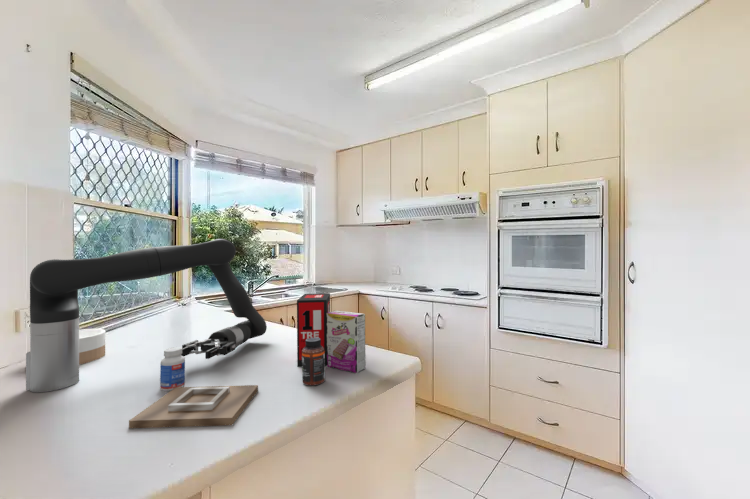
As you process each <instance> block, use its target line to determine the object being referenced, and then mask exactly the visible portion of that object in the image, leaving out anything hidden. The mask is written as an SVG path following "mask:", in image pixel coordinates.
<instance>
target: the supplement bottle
mask: <svg viewBox="0 0 750 499" xmlns="http://www.w3.org/2000/svg"><path fill="white" fill-rule="evenodd" d="M305 342H306V343H305V345H306V346H305V347H304V348H303V350H302V367H301V375H302V377H301V378H302V380H301V381H302V384H304V385H306V386H318V385H321V384H323V383H324V382H325V380H326V369H325V368H326V366H325V351H324V347H323V346H321V339H320V338H308V339H306V341H305Z"/></svg>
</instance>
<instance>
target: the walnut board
mask: <svg viewBox="0 0 750 499" xmlns="http://www.w3.org/2000/svg"><path fill="white" fill-rule="evenodd" d="M258 392H259V385H258V384H257V385H256V384H254V385H253V384H252V385H251V384H250V385H248V384H247V385H214V386H213V385H212V386H211V385H210V386H183V387H175V388H174V389H173V390H171V391H167V393H166V394H164V395H163V396H162V397H160V398H158V399H157V400H156V401H154V402H153V403H152V404H150V405H149V406H148V407H146V408H145V409H143V410H142V411H140V412H139V413H138V414H136V415H135V416H134V417H132V418H131V419H129V420H128V429H153V428H154V429H155V428H160V429H161V428H181V427H182V428H183V427H184V428H186V427H187V428H189V427H191V428H192V427H219V426H224V427H225V426H233V425H234V424H235V422H236V421H237V419H238V418H239V417H240V416H241V414H242V413H243V412H244V411H245V409H246V408H247V406H248V405H249V403H251V401H252V400H253V399H254V397H255V396H256V394H257V393H258Z"/></svg>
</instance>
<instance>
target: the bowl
mask: <svg viewBox="0 0 750 499" xmlns="http://www.w3.org/2000/svg"><path fill="white" fill-rule="evenodd" d="M105 356H106V329H102V328H85V329H84V328H83V329H79V366H80V365H83V364H88V363H91V362H93V361H94V362H95V361H97V360H99V359H101V358H103V357H105Z"/></svg>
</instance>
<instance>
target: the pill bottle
mask: <svg viewBox="0 0 750 499" xmlns="http://www.w3.org/2000/svg"><path fill="white" fill-rule="evenodd" d="M181 354H182V346H176V347H169V348H165V349H164V350H163V356H164V357H163V358H162V359H161V360H160V368H159V369H160V370H159V372H160V373H159V374H160V375H159V376H160V378H159V381H160V382H159V386H160V387H159V388H160V390H161V391H164V392H170V391H171V390H173V389H174V388H175V387H185V383H186V382H185V380H186V356H181Z"/></svg>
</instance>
